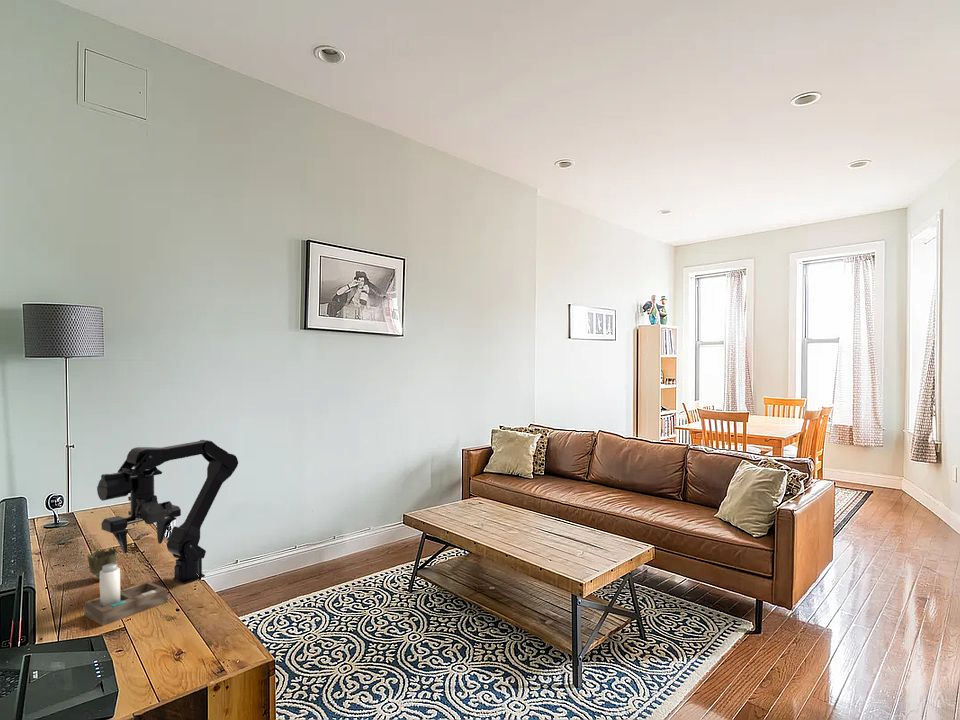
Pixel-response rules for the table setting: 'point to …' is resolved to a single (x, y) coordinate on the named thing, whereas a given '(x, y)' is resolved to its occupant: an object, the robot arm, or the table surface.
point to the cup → (101, 560)
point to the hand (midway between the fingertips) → (143, 548)
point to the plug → (109, 585)
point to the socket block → (126, 603)
